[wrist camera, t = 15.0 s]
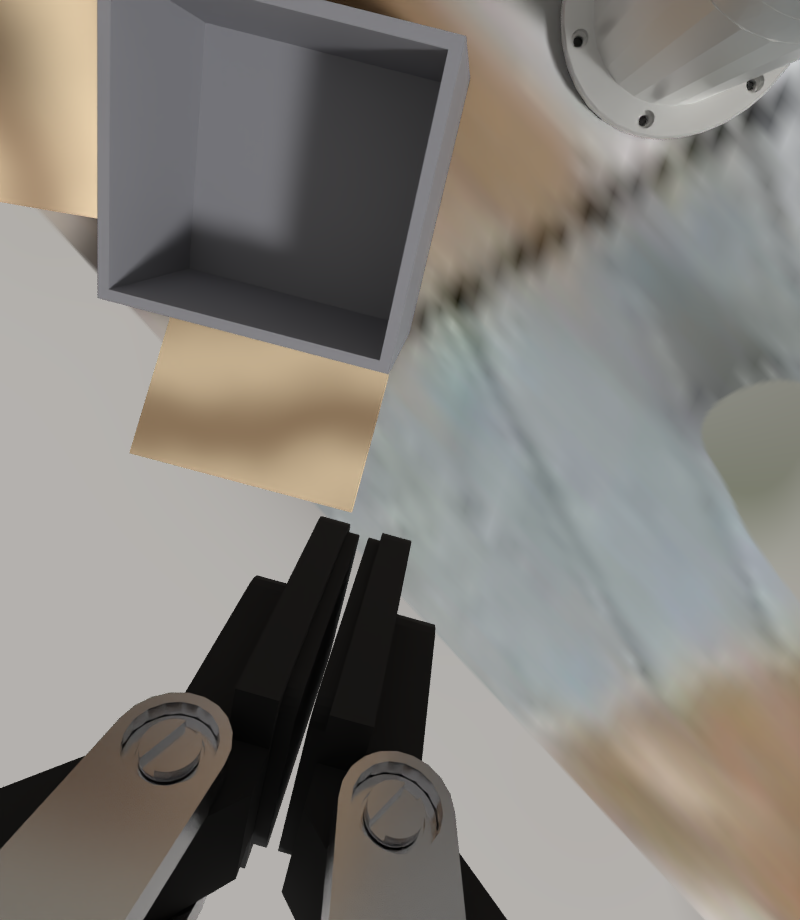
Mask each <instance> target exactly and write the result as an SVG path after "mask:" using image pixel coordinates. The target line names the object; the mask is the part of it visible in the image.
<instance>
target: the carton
mask: <svg viewBox="0 0 800 920" xmlns="http://www.w3.org/2000/svg"><path fill="white" fill-rule="evenodd" d="M469 81H470V72H469V61H468V50H467V40H466V36H464V35H460V34H456V33H452V32H448V31H444V30H440V29H436V28H432V27H428V26H425V25H421V24H417V23H413V22H409V21H405V20H401V19H397V18H393V17H389V16H385V15H381V14H377V13H373V12H369V11H365V10H361V9H357V8H353V7H349V6H345V5H341V4H337V3H333V2H329V1H325V0H97V168H98V298H100V299H104V300H107V301H111V302H115V303H119V304H123V305H127V306H130V307H134V308H138V309H142V310H146V311H149V312H153V313H157V314H161V315H165V316H168V317H172V318H176V319H180V320H184V321H187V322H191V323H195V324H199V325H203V326H207V327H210V328H214V329H218V330H222V331H226V332H229V333H233V334H237V335H241V336H245V337H248V338H252V339H256V340H260V341H264V342H267V343H271V344H275V345H279V346H283V347H286V348H290V349H294V350H298V351H302V352H306V353H309V354H313V355H317V356H321V357H325V358H328V359H332V360H336V361H340V362H344V363H347V364H351V365H355V366H359V367H363V368H366V369H370V370H374V371H378V372H382V373H386V374H389V372H390V370H391V368H392V366H393V364H394V362H395V360H396V358H397V356H398V354H399V352H400V350H401V349H402V347H403V345H404V343H405V341H406V339H407V337H408V335H409V333H410V328H411V324H412V320H413V316H414V312H415V307H416V303H417V299H418V295H419V291H420V286H421V282H422V278H423V274H424V270H425V266H426V261H427V257H428V253H429V249H430V245H431V240H432V236H433V232H434V228H435V224H436V219H437V215H438V211H439V207H440V203H441V199H442V194H443V190H444V186H445V182H446V178H447V173H448V169H449V165H450V161H451V157H452V152H453V148H454V144H455V140H456V136H457V132H458V127H459V123H460V119H461V115H462V111H463V106H464V102H465V98H466V94H467V90H468V85H469Z"/></svg>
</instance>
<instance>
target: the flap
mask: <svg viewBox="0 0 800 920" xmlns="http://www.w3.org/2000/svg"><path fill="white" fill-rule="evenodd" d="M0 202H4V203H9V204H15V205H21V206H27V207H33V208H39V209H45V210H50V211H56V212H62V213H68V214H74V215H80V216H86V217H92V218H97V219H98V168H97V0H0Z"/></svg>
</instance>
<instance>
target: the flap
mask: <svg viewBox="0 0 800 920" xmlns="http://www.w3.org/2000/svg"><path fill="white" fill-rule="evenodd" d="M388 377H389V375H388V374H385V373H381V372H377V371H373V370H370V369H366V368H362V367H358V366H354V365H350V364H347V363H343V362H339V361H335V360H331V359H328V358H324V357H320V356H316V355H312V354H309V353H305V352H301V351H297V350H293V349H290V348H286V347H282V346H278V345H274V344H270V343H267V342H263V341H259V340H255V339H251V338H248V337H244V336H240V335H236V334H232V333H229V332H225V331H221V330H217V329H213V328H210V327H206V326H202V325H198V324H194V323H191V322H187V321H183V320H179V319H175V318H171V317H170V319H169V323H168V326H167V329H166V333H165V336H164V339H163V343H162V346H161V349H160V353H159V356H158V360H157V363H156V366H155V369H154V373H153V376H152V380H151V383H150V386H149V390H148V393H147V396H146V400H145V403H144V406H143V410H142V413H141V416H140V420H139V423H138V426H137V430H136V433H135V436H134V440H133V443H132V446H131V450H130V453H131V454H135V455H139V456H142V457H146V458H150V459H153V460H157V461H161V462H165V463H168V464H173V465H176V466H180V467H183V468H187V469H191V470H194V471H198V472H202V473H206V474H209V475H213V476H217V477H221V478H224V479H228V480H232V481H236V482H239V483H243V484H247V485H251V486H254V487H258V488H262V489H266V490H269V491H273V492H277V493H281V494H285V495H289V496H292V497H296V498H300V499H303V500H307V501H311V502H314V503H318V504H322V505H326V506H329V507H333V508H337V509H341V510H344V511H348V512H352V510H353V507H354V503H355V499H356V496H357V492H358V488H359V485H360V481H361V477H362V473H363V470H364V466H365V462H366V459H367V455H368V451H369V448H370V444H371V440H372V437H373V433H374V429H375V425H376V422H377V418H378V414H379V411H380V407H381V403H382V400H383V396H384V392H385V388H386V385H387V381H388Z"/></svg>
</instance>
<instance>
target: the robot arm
mask: <svg viewBox="0 0 800 920" xmlns="http://www.w3.org/2000/svg"><path fill="white" fill-rule="evenodd" d="M576 37H579V38H581V40H582V45H581V46H580V47H575V46H574V44H573V40H574V38H576ZM561 42H562V47H563V52H564V56H565V61H566V66H567V69H568V71H569V73H570V76H571V78H572V81H573V83H574V86H575V88H576V89H577V91H578V92H579V94H580V95H581V97H582V98H583V100H584V101H585V103H586V104H587V106H588V107H589V108H590V109H591V110H592V111H593V112H594V113H595V114H596V115H597V116H599V117H600V118H601V119H602V120H603V121H604V122H606V123H607V124H609V125H611V126H612V127H614V128H616V129H618V130H619V131H621V132H624V133H627V134H630V135H633V136H636V137H640V138H646V139H658V140H667V139H675V138H683V137H688V136H691V135H695V134H699V133H703V132H705V131H707V130H710V129H712V128H714V127H717V126H719V125H721V124H724V123H726V122H727V121H729V120H730V119H732V118H734V117H735V116H737V115H738V114H740V113H741V112H743V111H745V110H746V109H748V108H749V107H750V106H751V105H752V104H754V103H755V102H756V101H757V100H758V99H760V98H761V97H762V96H763V95H764V94H765V93H766V92H767V91H768V90H769V89H770V88H771V87H772V86H773V84H774V83H775V82H776V81H777V80H778V78H779V77H780V76H781V75H782V74H783V73H784V71H785V70H786V69H787V68H788V66H789V65H790V63H792V62H795V61H797V60H800V0H562V8H561ZM749 80H751V81H752V83H753V87H752V89H751V90H747V87H746V84H747V81H749ZM641 116H645V117H646V119H647V122H646V124H645V125H644V126H641V125H639V118H640V117H641ZM349 530H350V524H348V523H344V522H341V521H337V520H333V519H330V518H326V517H323V516H322V517H320V518H319V520H318V522H317V524H316V526H315V528H314V530H313V532H312V534H311V536H310V539H309V540H308V542H307V544H306V546H305V548H304V550H303V552H302V554H301V556H300V558H299V560H298V562H297V564H296V567H295V569H294V571H293V572H292V575H291V576H290V579H289V581H288V583H287V584H286V583H283V582H279V581H275V580H272V579H268V578H264V577H261V576H255V577H254V578H253V580H252V581H251V582H250V584H249V586H248V587H247V589H246V591H245V592H244V594H243V596H242V598H241V599H240V601H239V602H238V604H237V606H236V608H235V609H234V611H233V613H232V614H231V616H230V618H229V619H228V621H227V623H226V625H225V626H224V628H223V630H222V631H221V633H220V635H219V636H218V638H217V640H216V641H215V643H214V645H213V646H212V648H211V650H210V652H209V653H208V655H207V657H206V658H205V660H204V662H203V663H202V665H201V667H200V668H199V670H198V672H197V674H196V675H195V677H194V679H193V680H192V682H191V684H190V685H189V687H188V689H187V690H186V692H185V693H166V694H162V695H158V696H154V697H151V698H149V699H147V700H145V701H143V702H140V703H138V704H137V705H135V706H133V707H132V708H131V709H130V710H129V711H127V712H126V713H125V714H124V715H123V716H121V717H120V718H119V719H118V720H117V722H116V723H115V724H114V725H113V726H112V727H111V728H110V729H109V730H108V732H107V733H106V734H105V735H104V736H103V737H102V738H101V739H100V740H99V741H98V742H97V744H96V745H95V746H94V747H93V748H92V749H91V750H90V751H89V753H88V754H87V755H86V756H83V757H81V758H78V759H75V760H73V761H70V762H67V763H65V764H62V765H60V766H57V767H54V768H52V769H49V770H47V771H44V772H42V773H39V774H36V775H34V776H31V777H28V778H26V779H23V780H21V781H18V782H15V783H13V784H10V785H8V786H5V787H2V788H0V920H196V919H197V917H198V915H199V913H200V911H201V910H202V907H203V904H204V901H205V899H206V897H207V895H209V894H210V893H212V892H214V891H216V890H217V889H219V888H221V887H223V886H224V885H226V884H227V883H229V882H231V881H233V880H234V879H236V876H237V873H238V871H239V868H240V867H242V868H245V866H246V863H247V860H248V858H249V855H250V852H251V849H252V846H253V844H256V845H259V846H263V847H267V845H268V842H269V839H270V837H271V833H272V830H273V827H274V824H275V821H276V818H277V815H278V812H279V809H280V806H281V803H282V800H283V797H284V794H285V791H286V788H287V785H288V782H289V779H290V775H291V773H292V769H293V766H294V763H295V760H296V757H297V754H298V751H299V748H300V745H301V742H302V738H303V736H304V733H305V729H306V727H307V724H308V720H309V717H310V714H311V711H312V708H313V705H314V702H315V699H316V702H315V705H314V708H313V712H312V715H311V719H310V723H309V727H308V731H307V735H306V739H305V743H304V747H303V751H302V756H301V759H300V763H299V767H298V771H297V775H296V780H295V784H294V788H293V792H292V796H291V800H290V804H289V808H288V812H287V817H286V820H285V824H284V829H283V833H282V837H281V841H280V845H279V849H278V851H280V852H284V853H287V854H291V859H290V863H289V867H288V871H287V874H286V878H285V882H284V886H283V889H282V893H283V896H284V898H285V900H286V902H287V904H288V906H289V908H290V910H291V912H292V914H293V916H294V918H295V920H507V919H506V917H505V916H504V915H503V914H502V912H501V911H500V909H499V908H498V906H497V905H496V904H495V902H494V901H493V900H492V898H491V897H490V895H489V894H488V892H487V891H486V890H485V888H484V887H483V885H482V884H481V883H480V881H479V880H478V878H477V877H476V876H475V874H474V873H473V872H472V870H471V869H470V867H469V866H468V864H467V863H466V862H465V861H464V859H463V858H462V856H461V855H460V853H459V847H458V838H457V828H456V819H455V811H454V807H453V803H452V799H451V795H450V793H449V791H448V790H447V788H446V786H445V784H444V782H443V781H442V779H441V778H440V776H439V775H438V774H437V773H435V771H434V770H433V769H432V768H431V767H430V766H429V765H427V764H426V763H424V762H422V754H423V744H424V735H425V725H426V716H427V706H428V696H429V687H430V678H431V668H432V659H433V649H434V640H435V625H434V624H430V623H427V622H423V621H419V620H416V619H412V618H409V617H405V616H401V615H398V614H397V611H398V606H399V601H400V596H401V591H402V586H403V581H404V576H405V571H406V566H407V561H408V556H409V551H410V546H411V541H410V540H406V539H402V538H399V537H395V536H391V535H388V534H384V533H382V536H381V540H380V541H379V540H375V539H372V538H368V541H367V544H366V547H365V550H364V553H363V557H362V560H361V563H360V566H359V569H358V572H357V575H356V578H355V581H354V584H353V588H352V590H351V593H350V597H349V599H348V603H347V606H346V609H345V612H344V615H343V618H342V621H341V624H340V627H339V630H338V633H337V636H336V639H335V642H334V645H333V641H334V637H335V633H336V628H337V624H338V620H339V617H340V613H341V609H342V605H343V601H344V597H345V593H346V589H347V584H348V581H349V576H350V572H351V568H352V564H353V560H354V556H355V552H356V548H357V544H358V540H359V535H357V534H354V533H350V532H349ZM332 645H333V648H332ZM331 649H332V652H331ZM330 652H331V655H330ZM329 656H330V658H329ZM328 659H329V661H328ZM327 662H328V664H327ZM326 666H327V667H326ZM325 668H326V670H325ZM324 672H325V673H324ZM323 675H324V676H323ZM322 678H323V679H322ZM321 681H322V682H321ZM320 684H321V685H320ZM319 687H320V688H319ZM318 690H319V691H318ZM317 693H318V695H317ZM316 696H317V698H316Z"/></svg>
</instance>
